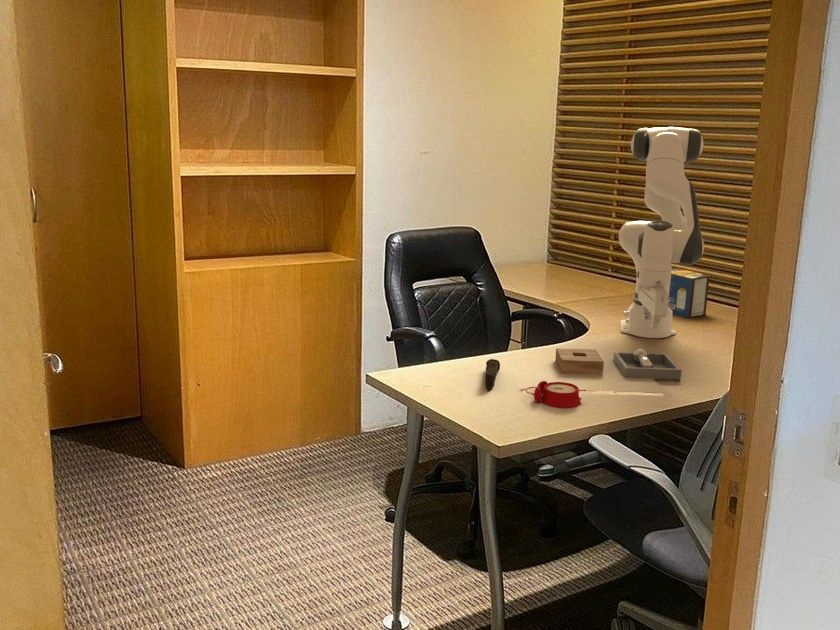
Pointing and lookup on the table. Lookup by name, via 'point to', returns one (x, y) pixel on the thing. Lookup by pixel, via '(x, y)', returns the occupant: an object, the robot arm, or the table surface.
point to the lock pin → (642, 358)
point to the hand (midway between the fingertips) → (650, 323)
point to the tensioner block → (579, 361)
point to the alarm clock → (557, 394)
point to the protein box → (688, 293)
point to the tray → (661, 368)
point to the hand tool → (491, 373)
